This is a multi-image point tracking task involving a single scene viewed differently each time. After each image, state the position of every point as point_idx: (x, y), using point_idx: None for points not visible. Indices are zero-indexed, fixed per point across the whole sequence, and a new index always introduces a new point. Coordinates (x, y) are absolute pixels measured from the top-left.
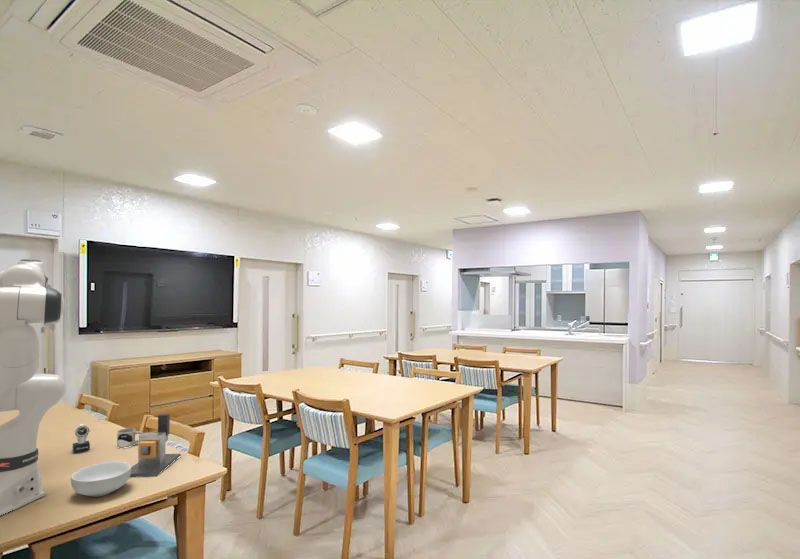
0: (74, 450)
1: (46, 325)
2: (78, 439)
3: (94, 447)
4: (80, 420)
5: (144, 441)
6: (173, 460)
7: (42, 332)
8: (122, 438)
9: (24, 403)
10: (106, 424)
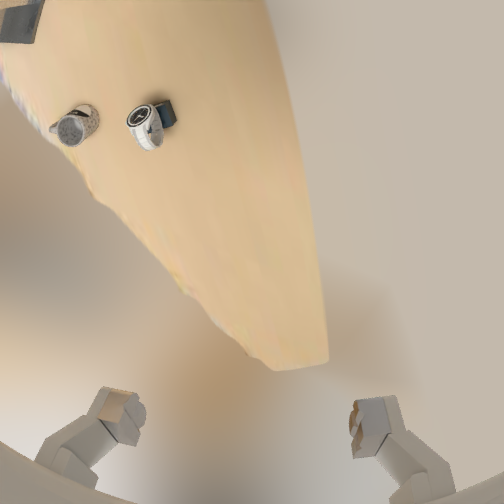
0: (166, 102)
1: (63, 443)
2: (150, 104)
3: None
4: (222, 302)
5: None
6: None
7: (120, 390)
8: (77, 111)
9: None
10: (170, 267)
